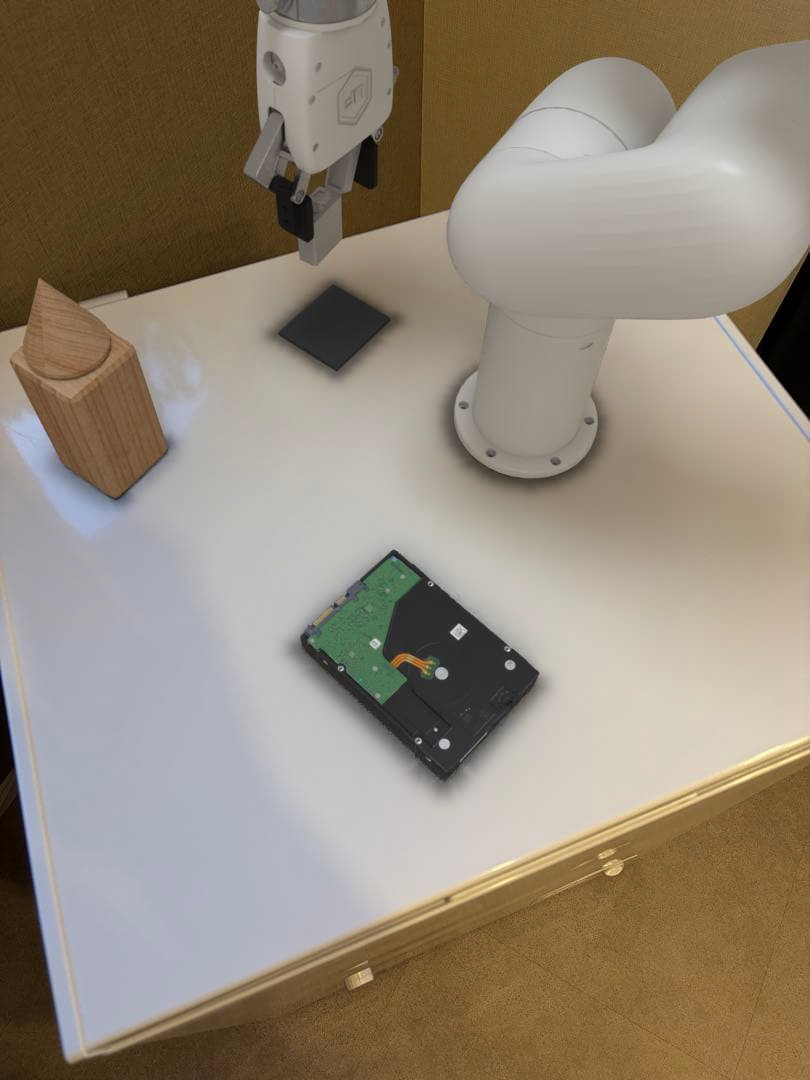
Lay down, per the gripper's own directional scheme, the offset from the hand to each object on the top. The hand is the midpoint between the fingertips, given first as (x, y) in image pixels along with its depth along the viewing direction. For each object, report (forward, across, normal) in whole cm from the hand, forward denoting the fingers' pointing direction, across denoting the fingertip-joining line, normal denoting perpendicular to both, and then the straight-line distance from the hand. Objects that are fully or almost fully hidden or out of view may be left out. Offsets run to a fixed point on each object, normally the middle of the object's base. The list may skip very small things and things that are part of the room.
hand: (328, 205), depth 71 cm
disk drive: (+14, -22, -26) cm, 37 cm away
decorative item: (+14, -23, +5) cm, 27 cm away
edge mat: (+14, 0, 0) cm, 14 cm away
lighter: (+3, 0, 0) cm, 3 cm away
